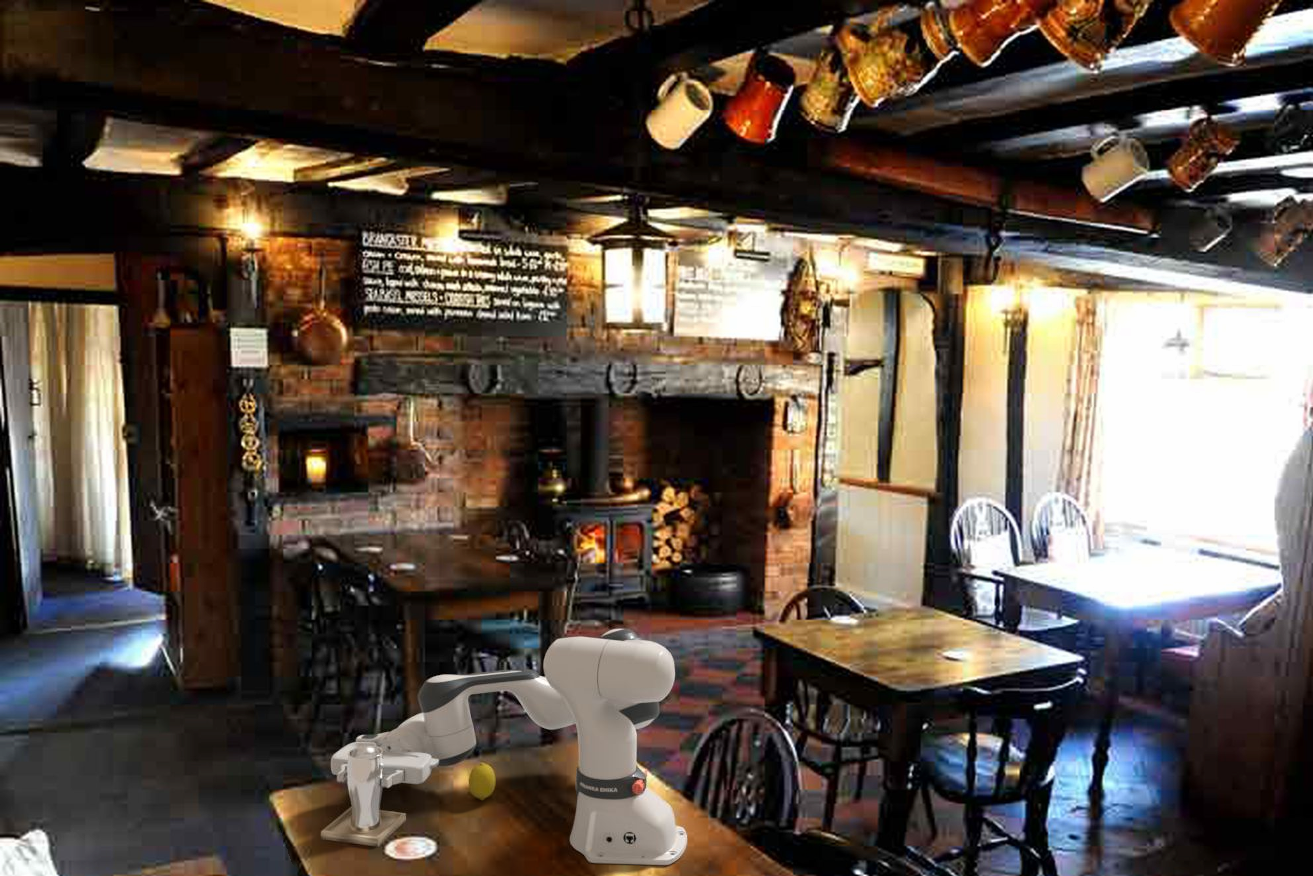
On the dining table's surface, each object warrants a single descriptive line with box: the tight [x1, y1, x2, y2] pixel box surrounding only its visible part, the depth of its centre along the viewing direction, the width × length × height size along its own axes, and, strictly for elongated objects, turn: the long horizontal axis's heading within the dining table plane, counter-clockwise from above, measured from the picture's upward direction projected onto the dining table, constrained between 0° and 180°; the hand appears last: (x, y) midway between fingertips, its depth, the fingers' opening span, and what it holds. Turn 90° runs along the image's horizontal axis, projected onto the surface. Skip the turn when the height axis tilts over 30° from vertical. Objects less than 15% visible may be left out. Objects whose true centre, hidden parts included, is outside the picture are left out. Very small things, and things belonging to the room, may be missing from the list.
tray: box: [320, 805, 407, 848], centre depth 192 cm, size 12×11×2 cm
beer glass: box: [346, 746, 384, 834], centre depth 192 cm, size 7×7×15 cm
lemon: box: [468, 762, 497, 801], centre depth 206 cm, size 6×6×8 cm
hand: (362, 781), depth 191 cm, fingers open, 8 cm apart
